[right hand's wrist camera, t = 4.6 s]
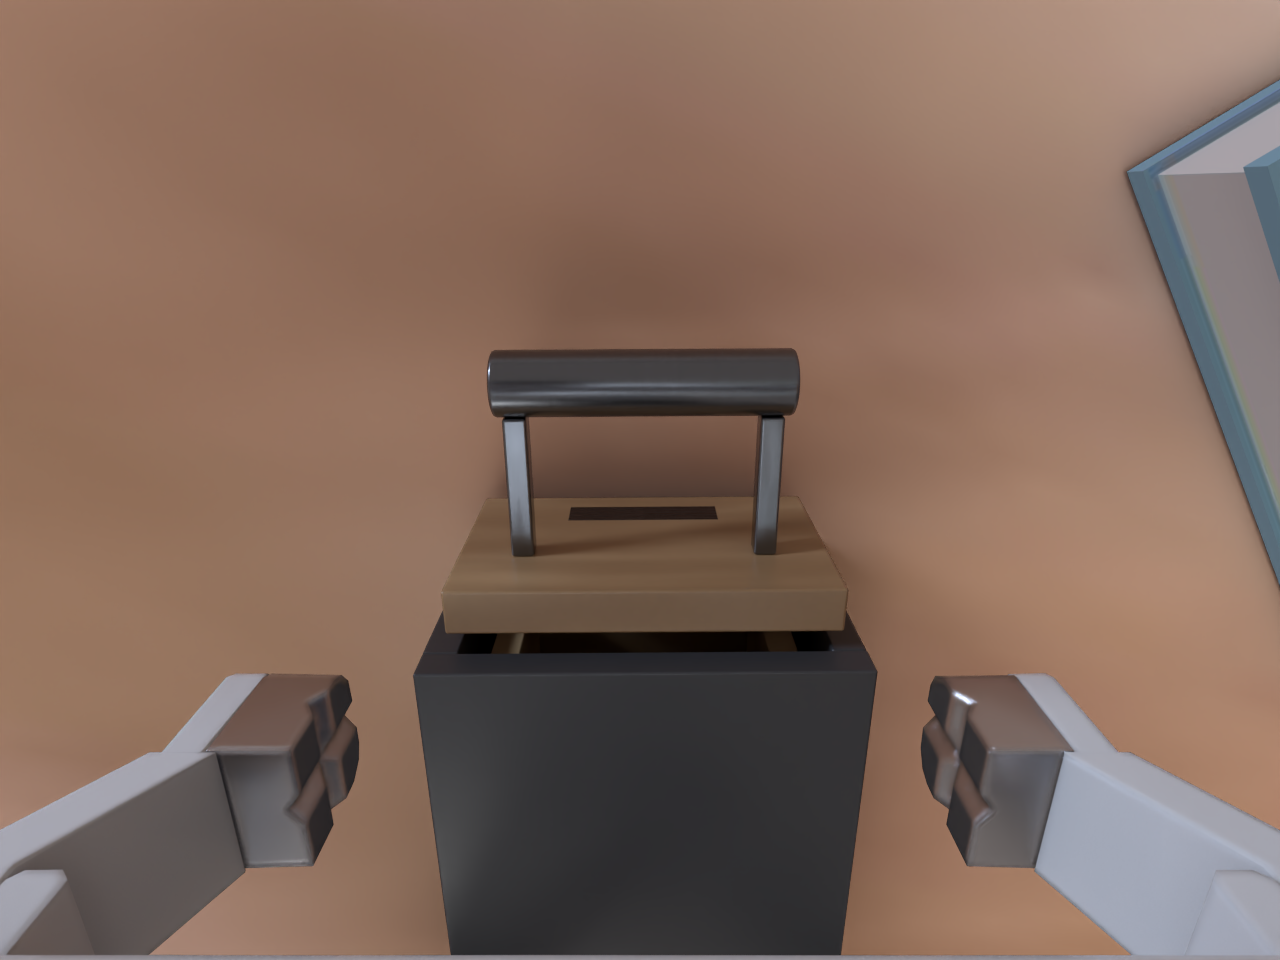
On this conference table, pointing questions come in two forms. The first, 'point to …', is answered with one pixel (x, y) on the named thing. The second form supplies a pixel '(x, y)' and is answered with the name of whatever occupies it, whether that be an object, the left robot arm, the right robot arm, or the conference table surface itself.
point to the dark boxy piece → (645, 795)
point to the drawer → (643, 520)
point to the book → (1228, 279)
